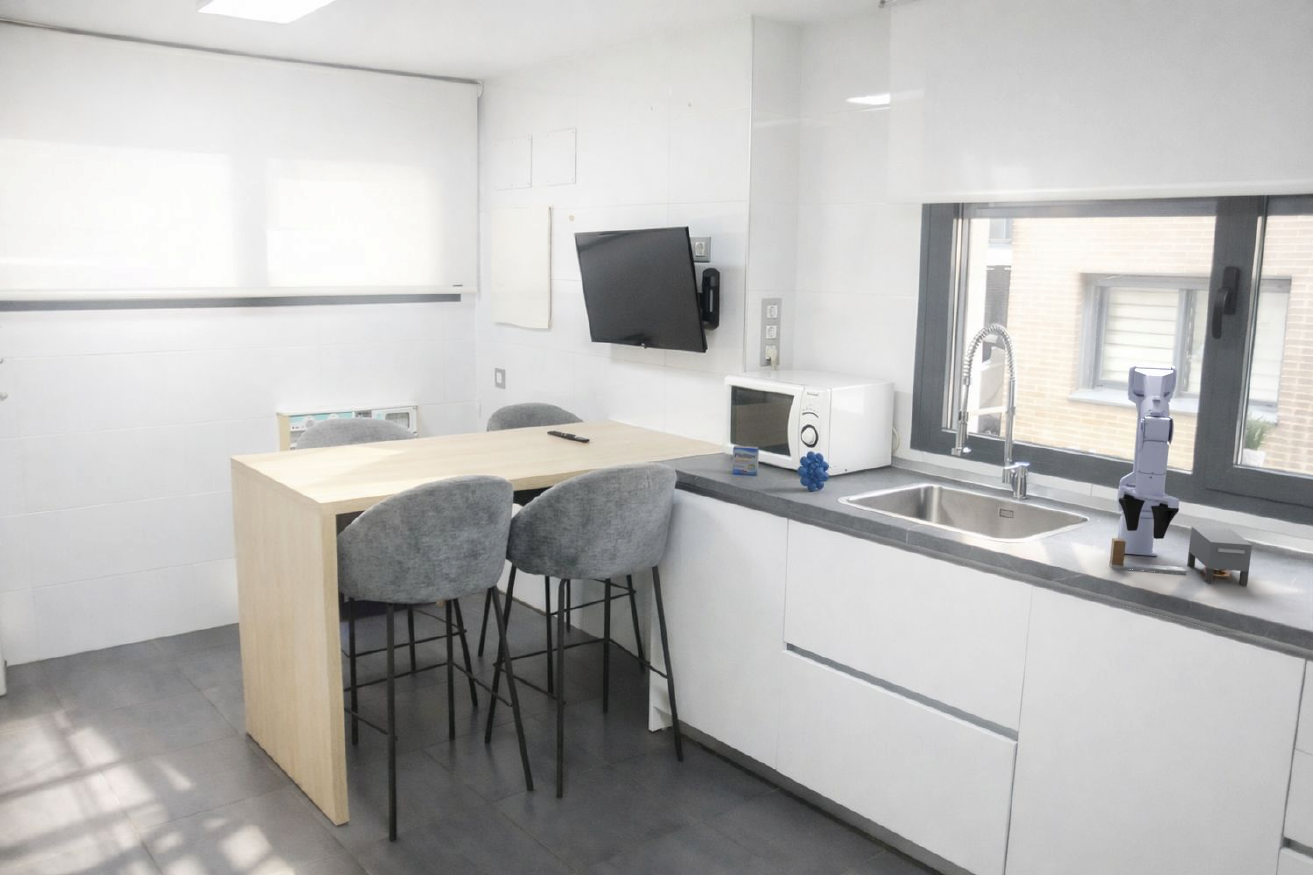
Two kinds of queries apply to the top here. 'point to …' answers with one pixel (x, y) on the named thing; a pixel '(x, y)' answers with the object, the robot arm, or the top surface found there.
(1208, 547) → the low cabinet
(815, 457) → the grapes
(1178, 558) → the top surface
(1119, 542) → the scraper
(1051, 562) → the top surface
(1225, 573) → the copper token
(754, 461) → the medicine box
